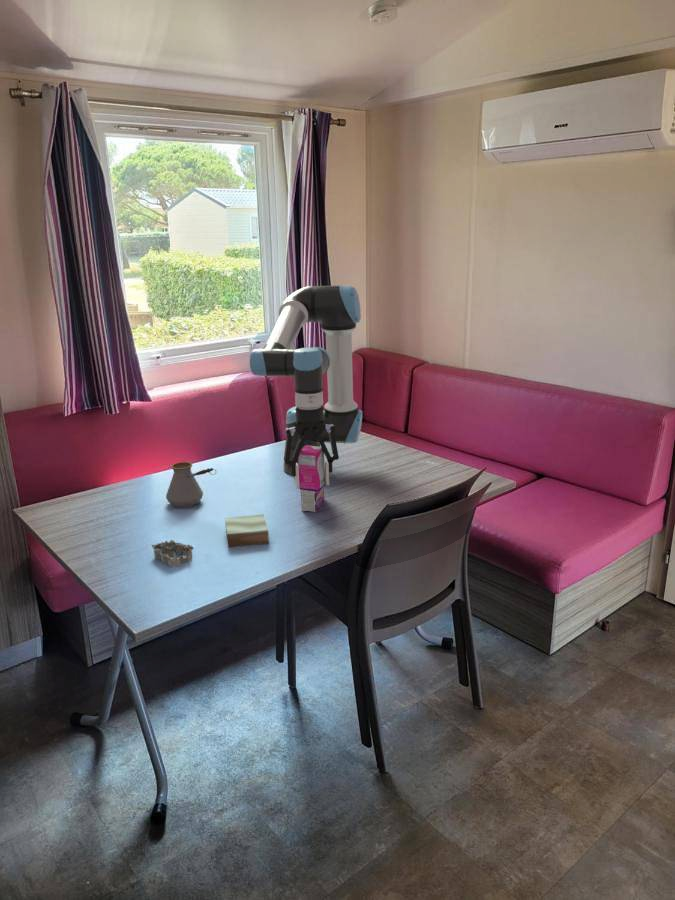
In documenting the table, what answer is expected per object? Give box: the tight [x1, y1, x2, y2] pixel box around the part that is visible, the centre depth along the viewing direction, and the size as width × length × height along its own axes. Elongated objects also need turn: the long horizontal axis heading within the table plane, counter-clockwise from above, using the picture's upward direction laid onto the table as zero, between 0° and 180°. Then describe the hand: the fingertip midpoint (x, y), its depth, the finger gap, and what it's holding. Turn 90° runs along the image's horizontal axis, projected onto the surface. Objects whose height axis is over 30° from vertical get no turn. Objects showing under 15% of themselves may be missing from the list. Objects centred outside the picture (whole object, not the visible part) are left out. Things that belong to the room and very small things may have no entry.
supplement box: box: [298, 445, 327, 492], centre depth 185 cm, size 6×6×12 cm
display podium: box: [224, 514, 269, 548], centre depth 186 cm, size 11×11×4 cm
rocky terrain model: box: [150, 539, 194, 568], centre depth 175 cm, size 11×8×4 cm
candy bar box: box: [300, 486, 325, 513], centre depth 205 cm, size 11×5×16 cm, turn 168°
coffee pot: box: [165, 461, 217, 509], centre depth 206 cm, size 21×12×15 cm, turn 50°
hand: (312, 484), depth 187 cm, fingers closed on supplement box, 8 cm apart
